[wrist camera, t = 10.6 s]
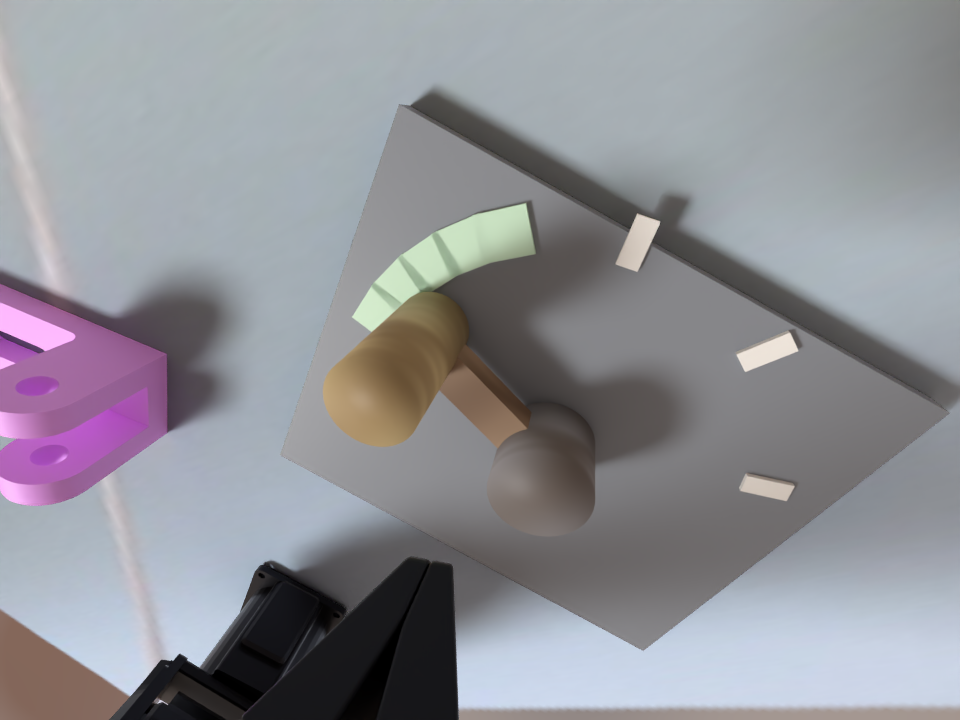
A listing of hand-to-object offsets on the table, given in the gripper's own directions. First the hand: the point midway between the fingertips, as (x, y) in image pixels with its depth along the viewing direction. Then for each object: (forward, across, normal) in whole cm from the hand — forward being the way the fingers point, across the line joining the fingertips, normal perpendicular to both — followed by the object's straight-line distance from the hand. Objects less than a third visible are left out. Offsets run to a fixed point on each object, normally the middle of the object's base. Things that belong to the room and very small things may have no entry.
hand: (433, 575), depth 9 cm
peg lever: (+11, +1, +2) cm, 12 cm away
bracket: (+13, +26, +4) cm, 29 cm away
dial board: (+13, -2, +5) cm, 14 cm away
